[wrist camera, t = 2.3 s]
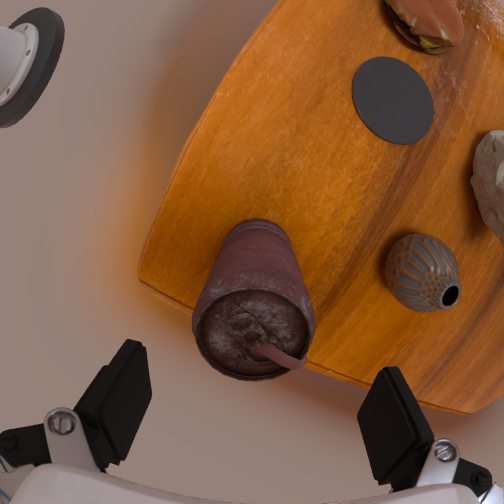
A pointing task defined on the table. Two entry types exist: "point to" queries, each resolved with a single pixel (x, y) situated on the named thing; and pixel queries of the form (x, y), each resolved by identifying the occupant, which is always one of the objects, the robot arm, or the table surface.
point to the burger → (427, 23)
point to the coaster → (392, 100)
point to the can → (254, 306)
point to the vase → (423, 274)
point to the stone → (490, 181)
